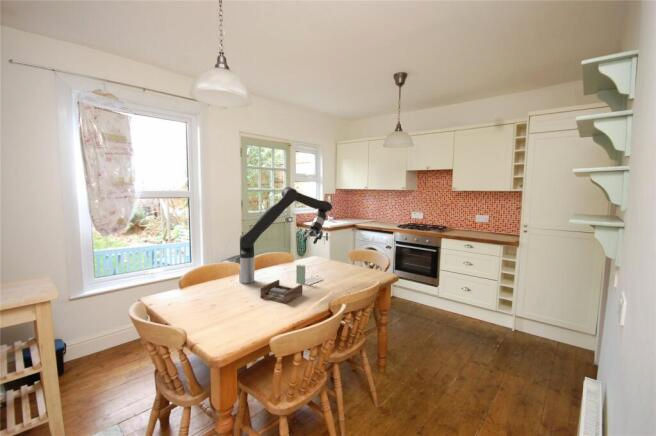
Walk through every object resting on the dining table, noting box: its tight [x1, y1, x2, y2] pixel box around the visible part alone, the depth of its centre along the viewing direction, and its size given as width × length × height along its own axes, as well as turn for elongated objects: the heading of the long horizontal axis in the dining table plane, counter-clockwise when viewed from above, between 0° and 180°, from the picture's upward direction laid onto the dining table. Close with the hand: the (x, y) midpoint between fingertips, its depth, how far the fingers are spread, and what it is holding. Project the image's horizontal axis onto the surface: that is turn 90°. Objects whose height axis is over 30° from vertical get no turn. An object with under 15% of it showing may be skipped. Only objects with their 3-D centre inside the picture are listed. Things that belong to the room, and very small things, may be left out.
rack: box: [259, 279, 303, 305], centre depth 164 cm, size 18×16×7 cm
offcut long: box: [268, 292, 284, 299], centre depth 162 cm, size 12×5×2 cm, turn 62°
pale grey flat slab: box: [303, 276, 324, 286], centre depth 191 cm, size 31×3×12 cm
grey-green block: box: [295, 264, 306, 285], centre depth 188 cm, size 5×3×12 cm, turn 62°
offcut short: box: [270, 288, 287, 296], centre depth 163 cm, size 9×4×2 cm, turn 68°
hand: (308, 242), depth 195 cm, fingers open, 8 cm apart
